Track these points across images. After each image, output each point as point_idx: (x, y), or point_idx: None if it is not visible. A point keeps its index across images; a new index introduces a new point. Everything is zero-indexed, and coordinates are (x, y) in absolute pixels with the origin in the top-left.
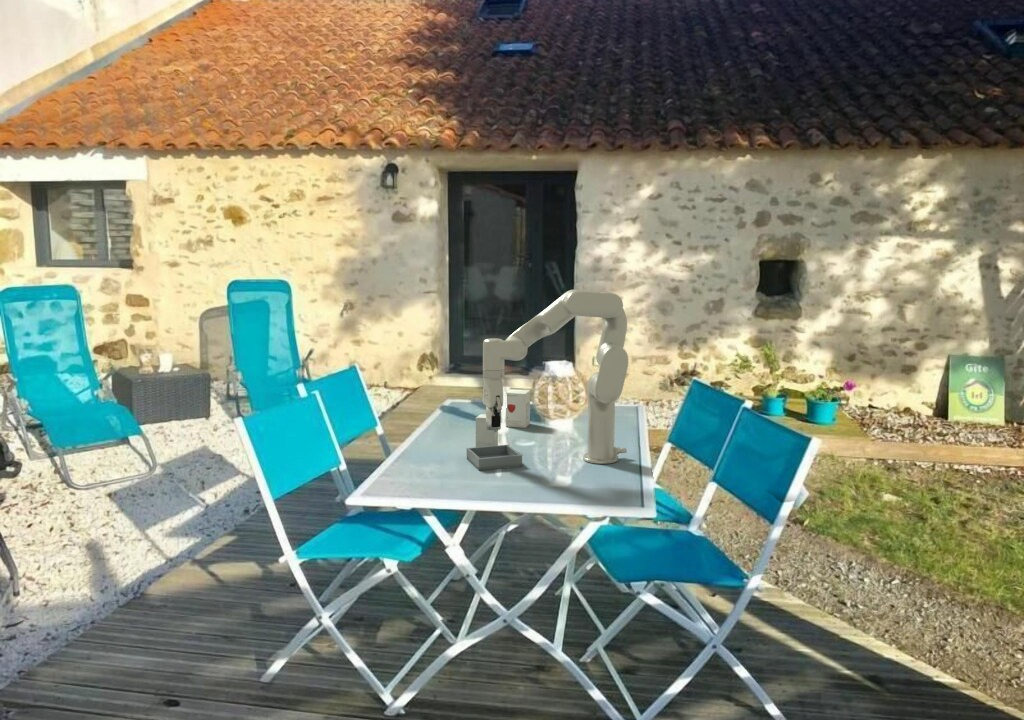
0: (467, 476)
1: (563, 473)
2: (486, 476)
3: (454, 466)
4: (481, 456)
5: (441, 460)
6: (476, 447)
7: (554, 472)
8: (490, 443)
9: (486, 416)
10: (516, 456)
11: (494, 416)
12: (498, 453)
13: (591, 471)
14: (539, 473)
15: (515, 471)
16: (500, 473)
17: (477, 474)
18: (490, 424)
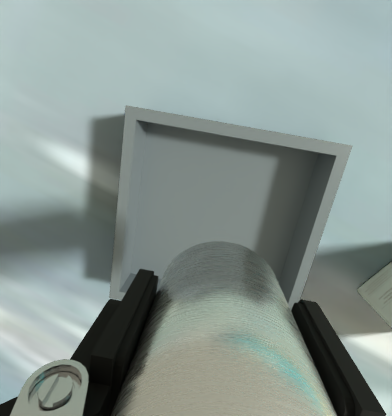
0: (85, 26)
1: (13, 332)
2: (59, 102)
3: (251, 38)
4: (289, 200)
5: (380, 21)
6: (331, 197)
7: (30, 318)
8: (388, 299)
9: (235, 321)
10: (111, 275)
11: (74, 375)
12: (282, 274)
13: (9, 394)
14: (34, 278)
15: (81, 227)
16: (77, 169)
17: (96, 81)
18: (172, 280)
